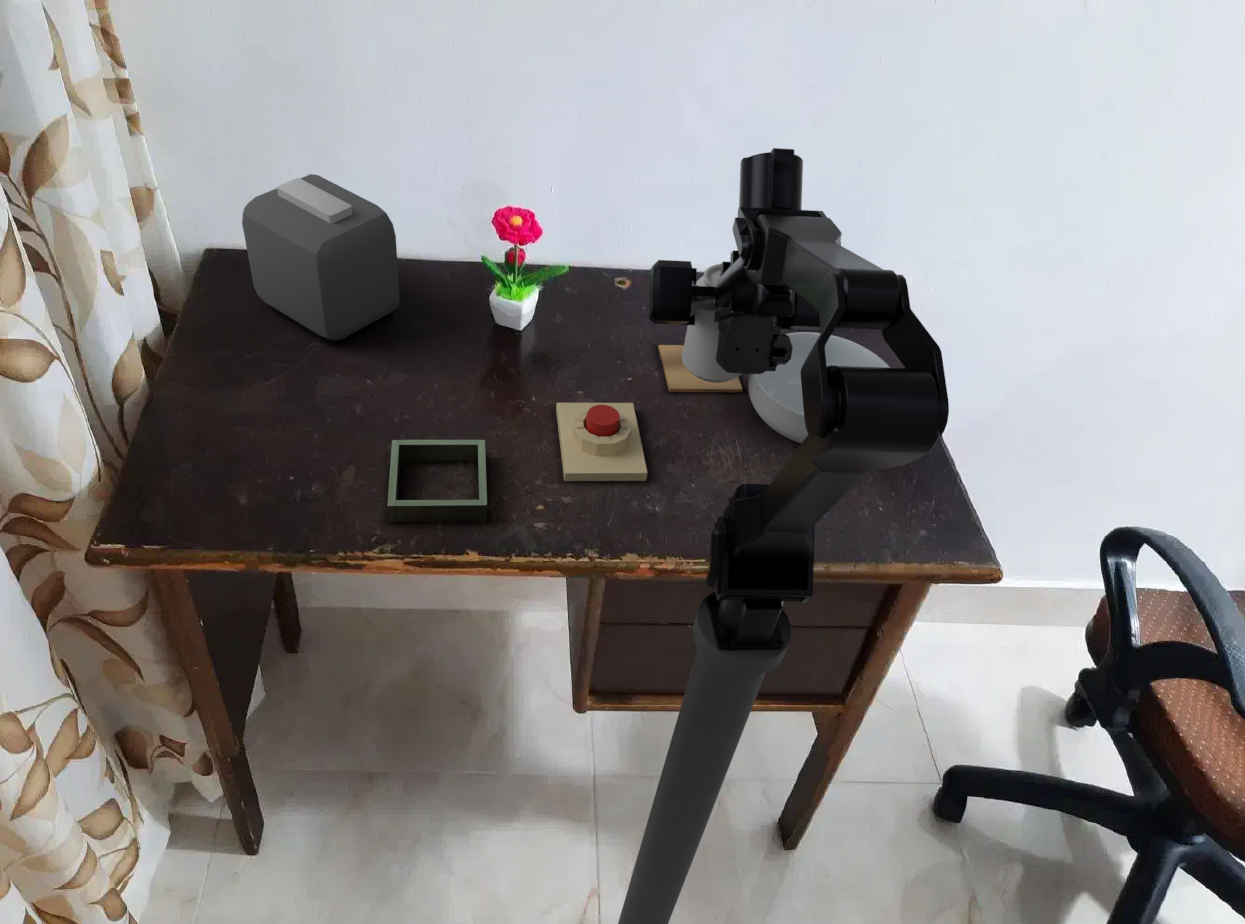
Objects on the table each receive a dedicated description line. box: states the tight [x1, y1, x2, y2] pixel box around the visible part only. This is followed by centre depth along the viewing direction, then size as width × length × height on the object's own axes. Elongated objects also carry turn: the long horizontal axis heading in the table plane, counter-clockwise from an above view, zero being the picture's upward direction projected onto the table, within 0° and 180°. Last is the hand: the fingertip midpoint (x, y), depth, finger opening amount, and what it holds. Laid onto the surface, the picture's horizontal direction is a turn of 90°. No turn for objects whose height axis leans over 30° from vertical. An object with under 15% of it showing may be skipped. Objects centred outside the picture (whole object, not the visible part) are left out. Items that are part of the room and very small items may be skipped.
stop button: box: [586, 405, 620, 437], centre depth 105 cm, size 4×4×2 cm
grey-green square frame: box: [387, 439, 488, 523], centre depth 100 cm, size 10×10×2 cm
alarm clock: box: [241, 173, 401, 342], centre depth 116 cm, size 16×11×16 cm
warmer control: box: [555, 402, 648, 482], centre depth 106 cm, size 12×9×3 cm
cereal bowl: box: [747, 331, 891, 444], centre depth 110 cm, size 17×17×7 cm
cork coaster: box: [657, 344, 743, 393], centre depth 118 cm, size 9×9×1 cm
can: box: [682, 263, 742, 383], centre depth 106 cm, size 8×8×12 cm
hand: (721, 312), depth 107 cm, fingers closed on can, 7 cm apart
